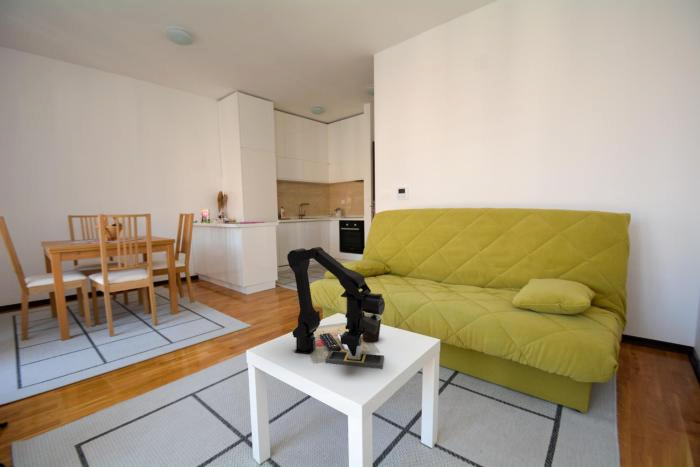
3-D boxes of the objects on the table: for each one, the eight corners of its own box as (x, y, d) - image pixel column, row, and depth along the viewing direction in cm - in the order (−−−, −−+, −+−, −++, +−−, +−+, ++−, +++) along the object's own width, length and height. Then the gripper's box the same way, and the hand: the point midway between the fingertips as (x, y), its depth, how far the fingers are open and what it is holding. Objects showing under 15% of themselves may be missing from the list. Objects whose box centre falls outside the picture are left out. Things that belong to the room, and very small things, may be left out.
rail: (325, 364, 104) (325, 358, 104) (330, 355, 110) (330, 350, 110) (382, 370, 100) (382, 364, 100) (384, 360, 106) (384, 355, 106)
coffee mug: (380, 346, 117) (380, 321, 117) (358, 344, 119) (358, 320, 118) (382, 334, 129) (382, 311, 128) (363, 332, 131) (363, 310, 130)
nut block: (348, 360, 103) (348, 344, 103) (350, 354, 107) (350, 339, 107) (360, 361, 103) (359, 345, 102) (362, 355, 107) (361, 340, 106)
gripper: (374, 321, 93) (374, 369, 94) (380, 303, 111) (380, 343, 112) (339, 319, 95) (340, 365, 96) (351, 301, 113) (351, 340, 115)
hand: (355, 352), depth 105 cm, fingers closed on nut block, 4 cm apart
